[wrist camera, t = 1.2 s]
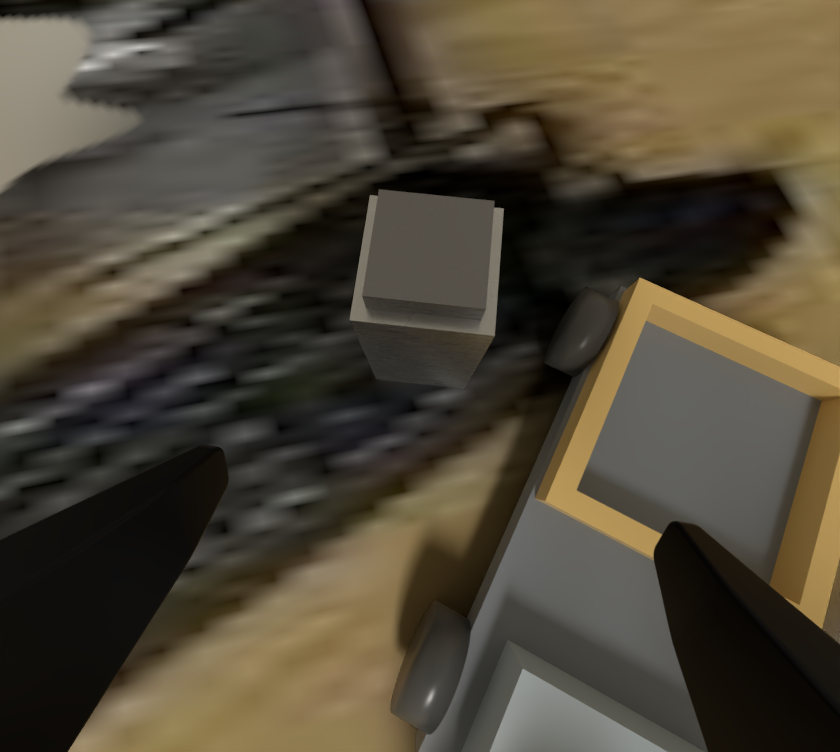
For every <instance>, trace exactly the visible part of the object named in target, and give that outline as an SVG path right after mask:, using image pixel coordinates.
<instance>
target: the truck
mask: <svg viewBox="0 0 840 752" xmlns="http://www.w3.org/2000/svg"><path fill="white" fill-rule="evenodd" d="M544 363H545V364H547V365H549V366H551V367H553V368H555V369H557V370H559V371H561V372H563V373H565V374H568V375H570V376H572V377H573V378H572V380H571V382H570V384H569V387H568V389H567V391H566V394H565V396H564V398H563V400H562V403H561V405H560V407H559V409H558V412H557V414H556V416H555V419H554V421H553V423H552V425H551V428H550V430H549V432H548V435H547V437H546V439H545V441H544V444H543V446H542V448H541V450H540V453H539V455H538V457H537V460H536V462H535V464H534V466H533V469H532V471H531V473H530V475H529V478H528V480H527V482H526V485H525V487H524V489H523V491H522V494H521V496H520V498H519V500H518V503H517V505H516V507H515V510H514V512H513V514H512V516H511V519H510V521H509V523H508V526H507V528H506V530H505V532H504V535H503V537H502V539H501V541H500V544H499V546H498V548H497V551H496V553H495V555H494V557H493V560H492V562H491V564H490V566H489V569H488V571H487V573H486V576H485V578H484V580H483V582H482V585H481V587H480V589H479V592H478V594H477V596H476V598H475V601H474V603H473V605H472V607H471V610H470V612H469V614H468V617H467V618H466V617H465V616H463V615H461V614H459V613H457V612H456V611H454V610H452V609H450V608H449V607H447V606H445V605H443V604H442V603H440V602H438V601H434V602H433V603H432V604H431V605H430V606H429V608H428V609H427V611H426V612H425V614H424V616H423V618H422V620H421V622H420V623H419V625H418V628H417V630H416V632H415V634H414V636H413V638H412V641H411V643H410V645H409V648H408V650H407V653H406V655H405V658H404V660H403V663H402V666H401V669H400V672H399V675H398V678H397V681H396V684H395V688H394V692H393V696H392V700H391V713H393V714H394V715H396V716H398V717H399V718H401V719H402V720H404V721H406V722H407V723H409V724H411V725H412V726H414V727H416V728H417V729H418V730H417V733H416V748H415V752H708V751H707V748H706V745H705V742H704V739H703V735H702V732H701V729H700V726H699V723H698V720H697V717H696V714H695V711H694V708H693V705H692V702H691V699H690V696H689V693H688V690H687V687H686V684H685V681H684V677H683V674H682V671H681V668H680V665H679V662H678V659H677V656H676V653H675V649H674V646H673V643H672V639H671V635H670V631H669V627H668V622H667V618H666V613H665V609H664V604H663V600H662V595H661V591H660V586H659V582H658V577H657V573H656V568H655V564H654V557H653V554H654V548H655V546H656V544H657V543H658V541H659V539H660V537H661V536H662V534H663V532H664V531H665V529H666V527H667V525H668V524H669V523H670V522H672V521H681V522H688V523H693V524H696V525H698V526H699V527H701V528H702V529H703V530H704V531H705V532H707V533H708V534H709V535H710V536H711V537H713V538H714V539H715V540H716V541H717V542H719V543H720V544H721V545H722V546H723V547H724V548H726V549H727V550H728V551H729V552H730V553H732V554H733V555H734V556H735V557H736V558H738V559H739V560H740V561H741V562H742V563H744V564H745V565H746V566H747V567H748V568H750V569H751V570H752V571H753V572H754V573H755V574H757V575H758V576H759V577H760V578H761V579H763V580H764V581H765V582H766V583H767V584H769V585H770V586H771V587H772V588H773V589H775V590H776V591H777V592H778V593H779V594H781V595H782V596H783V597H784V598H785V599H786V600H788V601H789V602H790V603H791V604H792V605H794V606H795V607H796V608H797V609H798V610H800V611H801V612H802V613H803V614H804V615H806V616H807V617H808V618H809V619H810V620H812V621H813V622H814V623H815V624H816V625H818V626H819V627H820V628H821V629H822V627H823V623H824V619H825V615H826V611H827V607H828V603H829V599H830V595H831V591H832V587H833V583H834V579H835V575H836V571H837V567H838V563H839V559H840V367H839V366H836V365H834V364H832V363H830V362H828V361H825V360H823V359H821V358H819V357H816V356H814V355H812V354H810V353H807V352H805V351H803V350H801V349H798V348H796V347H794V346H792V345H790V344H787V343H785V342H783V341H781V340H778V339H776V338H774V337H772V336H769V335H767V334H765V333H763V332H760V331H758V330H756V329H754V328H752V327H749V326H747V325H745V324H743V323H740V322H738V321H736V320H734V319H731V318H729V317H727V316H725V315H722V314H720V313H718V312H716V311H714V310H711V309H709V308H707V307H705V306H702V305H700V304H698V303H696V302H693V301H691V300H689V299H687V298H684V297H682V296H680V295H678V294H676V293H673V292H671V291H669V290H667V289H664V288H662V287H660V286H658V285H655V284H653V283H651V282H649V281H646V280H644V279H642V278H639V279H638V280H637V281H635V282H634V283H633V284H632V285H631V286H630V287H628V288H626V287H624V286H620V287H619V288H618V289H617V290H616V291H614V292H613V293H612V294H611V295H610V296H609V297H608V296H606V295H604V294H601V293H599V292H597V291H595V290H593V289H590V288H588V287H585V288H584V289H583V290H582V291H581V292H580V293H579V294H578V295H577V296H576V298H575V299H574V300H573V302H572V303H571V305H570V306H569V308H568V309H567V311H566V313H565V314H564V316H563V318H562V319H561V321H560V323H559V325H558V326H557V328H556V330H555V332H554V334H553V336H552V338H551V340H550V343H549V345H548V347H547V350H546V353H545V356H544Z"/></svg>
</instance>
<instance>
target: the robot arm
mask: <svg viewBox="0 0 840 752" xmlns="http://www.w3.org/2000/svg"><path fill="white" fill-rule="evenodd" d="M228 479H229V477H228V471H227V466H226V461H225V456H224V452H223V450H222V449H221V448H219V447H215V446H209V445H199V446H197V447H195V448H193V449H190V450H188V451H186V452H184V453H182V454H180V455H178V456H176V457H174V458H171V459H169V460H167V461H165V462H163V463H161V464H159V465H157V466H155V467H153V468H150V469H148V470H146V471H144V472H142V473H140V474H138V475H136V476H134V477H131V478H129V479H127V480H125V481H123V482H121V483H119V484H117V485H115V486H113V487H110V488H108V489H106V490H104V491H102V492H100V493H98V494H96V495H94V496H91V497H89V498H87V499H85V500H83V501H81V502H79V503H77V504H75V505H73V506H70V507H68V508H66V509H64V510H62V511H60V512H58V513H56V514H54V515H51V516H49V517H47V518H45V519H43V520H41V521H39V522H37V523H35V524H32V525H30V526H28V527H26V528H24V529H22V530H20V531H18V532H16V533H13V534H11V535H9V536H7V537H5V538H3V539H1V540H0V752H68V751H69V749H70V747H71V746H72V744H73V743H74V741H75V739H76V738H77V736H78V735H79V733H80V732H81V730H82V728H83V727H84V725H85V724H86V722H87V721H88V719H89V717H90V716H91V714H92V713H93V711H94V710H95V708H96V706H97V705H98V703H99V702H100V700H101V699H102V697H103V695H104V694H105V692H106V691H107V689H108V688H109V686H110V684H111V683H112V681H113V680H114V678H115V677H116V675H117V673H118V672H119V670H120V669H121V667H122V666H123V664H124V662H125V661H126V659H127V658H128V656H129V655H130V653H131V651H132V650H133V648H134V647H135V645H136V643H137V642H138V640H139V639H140V637H141V636H142V634H143V632H144V631H145V629H146V628H147V626H148V625H149V623H150V621H151V620H152V618H153V617H154V615H155V614H156V612H157V610H158V609H159V607H160V606H161V604H162V603H163V601H164V599H165V598H166V596H167V595H168V593H169V592H170V590H171V588H172V587H173V585H174V584H175V582H176V581H177V579H178V577H179V576H180V574H181V573H182V571H183V570H184V568H185V566H186V565H187V563H188V561H189V560H190V558H191V556H192V555H193V553H194V551H195V549H196V547H197V545H198V543H199V541H200V539H201V537H202V535H203V533H204V532H205V530H206V528H207V526H208V524H209V522H210V520H211V518H212V516H213V514H214V512H215V510H216V508H217V506H218V504H219V502H220V500H221V498H222V496H223V494H224V492H225V490H226V488H227V485H228ZM653 557H654V564H655V568H656V573H657V577H658V582H659V586H660V591H661V595H662V600H663V604H664V609H665V613H666V618H667V622H668V627H669V631H670V635H671V639H672V643H673V646H674V649H675V653H676V656H677V659H678V662H679V665H680V668H681V671H682V674H683V677H684V681H685V684H686V687H687V690H688V693H689V696H690V699H691V702H692V705H693V708H694V711H695V714H696V717H697V720H698V723H699V726H700V729H701V732H702V735H703V739H704V742H705V745H706V748H707V751H708V752H840V644H839V643H838V642H837V641H835V640H834V639H833V638H832V637H831V636H829V635H828V634H827V633H826V632H825V631H823V630H822V629H821V628H820V627H819V626H818V625H816V624H815V623H814V622H813V621H812V620H810V619H809V618H808V617H807V616H806V615H804V614H803V613H802V612H801V611H800V610H798V609H797V608H796V607H795V606H794V605H792V604H791V603H790V602H789V601H788V600H786V599H785V598H784V597H783V596H782V595H781V594H779V593H778V592H777V591H776V590H775V589H773V588H772V587H771V586H770V585H769V584H767V583H766V582H765V581H764V580H763V579H761V578H760V577H759V576H758V575H757V574H755V573H754V572H753V571H752V570H751V569H750V568H748V567H747V566H746V565H745V564H744V563H742V562H741V561H740V560H739V559H738V558H736V557H735V556H734V555H733V554H732V553H730V552H729V551H728V550H727V549H726V548H724V547H723V546H722V545H721V544H720V543H719V542H717V541H716V540H715V539H714V538H713V537H711V536H710V535H709V534H708V533H707V532H705V531H704V530H703V529H702V528H701V527H699V526H698V525H696V524H693V523H688V522H681V521H672V522H670V523H669V524H668V525H667V527H666V529H665V531H664V532H663V534H662V536H661V537H660V539H659V541H658V543H657V544H656V546H655V548H654V554H653Z"/></svg>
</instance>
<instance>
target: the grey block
mask: <svg viewBox="0 0 840 752" xmlns="http://www.w3.org/2000/svg"><path fill="white" fill-rule="evenodd" d="M503 213H504V209H503V208H494V201H490V200H480V199H470V198H460V197H450V196H440V195H430V194H420V193H410V192H400V191H390V190H380V189H379V192H378V196H373V195H370V198H369V204H368V211H367V217H366V223H365V229H364V235H363V241H362V247H361V253H360V259H359V265H358V272H357V278H356V284H355V290H354V296H353V302H352V308H351V314H350V322H351V325H352V327H353V329H354V331H355V333H356V336H357V338H358V340H359V342H360V344H361V347H362V349H363V351H364V353H365V355H366V358H367V360H368V362H369V364H370V366H371V369H372V371H373V373H374V375H375V377H376V379H379V380H388V381H397V382H406V383H415V384H424V385H433V386H442V387H451V388H460V389H465V387H466V385H467V384H468V382H469V380H470V378H471V377H472V375H473V373H474V371H475V370H476V368H477V366H478V364H479V363H480V361H481V359H482V357H483V356H484V354H485V352H486V350H487V349H488V347H489V345H490V343H491V341H492V340H493V338H494V336H495V325H496V311H497V297H498V283H499V269H500V255H501V241H502V227H503Z"/></svg>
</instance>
